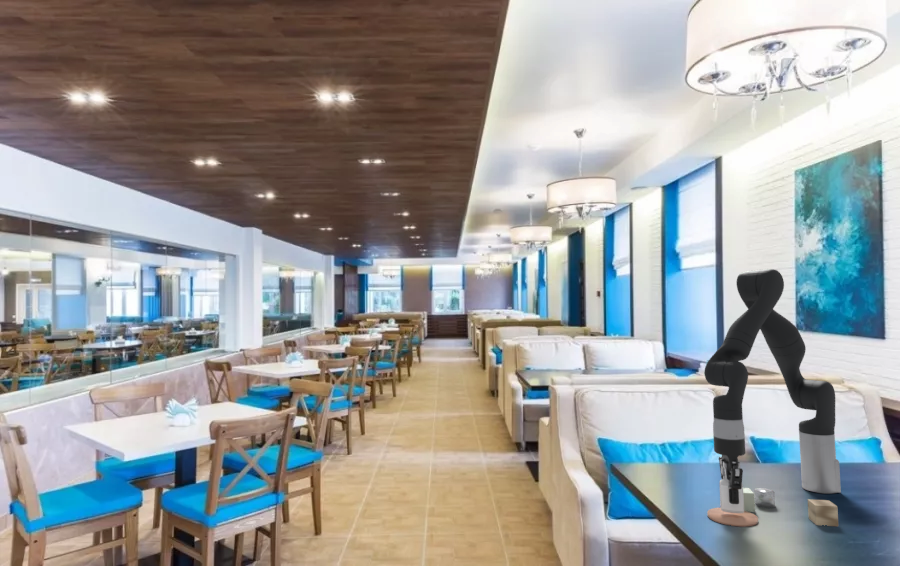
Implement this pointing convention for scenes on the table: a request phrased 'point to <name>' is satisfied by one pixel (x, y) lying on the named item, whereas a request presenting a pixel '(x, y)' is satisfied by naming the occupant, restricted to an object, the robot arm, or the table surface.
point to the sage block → (749, 500)
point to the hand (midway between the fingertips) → (731, 500)
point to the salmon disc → (733, 518)
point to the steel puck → (764, 497)
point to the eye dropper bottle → (724, 498)
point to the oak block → (823, 512)
